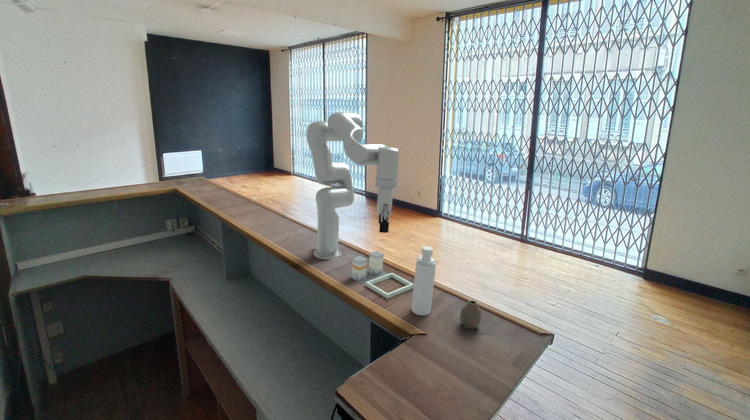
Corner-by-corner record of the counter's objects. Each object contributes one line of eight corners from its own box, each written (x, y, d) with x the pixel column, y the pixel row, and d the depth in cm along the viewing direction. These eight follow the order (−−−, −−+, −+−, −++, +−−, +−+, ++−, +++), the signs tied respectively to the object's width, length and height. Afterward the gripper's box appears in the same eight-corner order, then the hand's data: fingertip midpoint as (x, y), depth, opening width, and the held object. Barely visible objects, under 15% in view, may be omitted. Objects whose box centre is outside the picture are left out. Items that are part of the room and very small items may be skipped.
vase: (456, 327, 123) (459, 303, 120) (462, 317, 128) (465, 294, 126) (476, 334, 119) (480, 310, 117) (482, 324, 125) (486, 300, 123)
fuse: (368, 270, 156) (369, 252, 153) (375, 268, 158) (377, 250, 156) (375, 274, 153) (376, 256, 150) (382, 271, 155) (383, 254, 153)
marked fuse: (351, 276, 150) (352, 257, 147) (359, 273, 152) (360, 255, 150) (358, 280, 147) (359, 261, 144) (366, 277, 149) (367, 259, 147)
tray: (365, 289, 143) (365, 282, 143) (391, 279, 153) (391, 272, 152) (386, 302, 135) (387, 294, 134) (413, 291, 144) (413, 284, 143)
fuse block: (345, 277, 151) (345, 269, 150) (372, 268, 161) (373, 261, 160) (360, 287, 144) (361, 279, 143) (388, 277, 154) (389, 269, 153)
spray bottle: (434, 313, 130) (442, 246, 123) (417, 317, 127) (424, 248, 120) (424, 304, 135) (431, 239, 128) (408, 307, 133) (414, 241, 126)
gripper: (375, 176, 141) (372, 220, 146) (376, 187, 125) (373, 235, 130) (395, 178, 142) (391, 221, 146) (398, 188, 125) (394, 236, 130)
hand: (383, 227), depth 138 cm, fingers open, 9 cm apart
